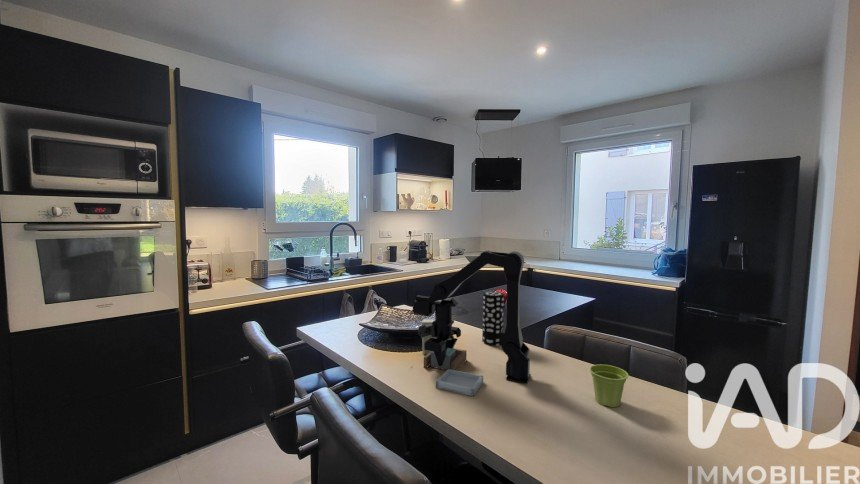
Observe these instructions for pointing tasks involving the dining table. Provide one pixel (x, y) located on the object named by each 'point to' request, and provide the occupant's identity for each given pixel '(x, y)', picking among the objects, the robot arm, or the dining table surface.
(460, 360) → the bay
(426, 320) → the skincare box
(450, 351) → the teal rectangular block
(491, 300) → the spotted tube
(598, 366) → the plant pot
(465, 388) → the tray
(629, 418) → the dining table surface
